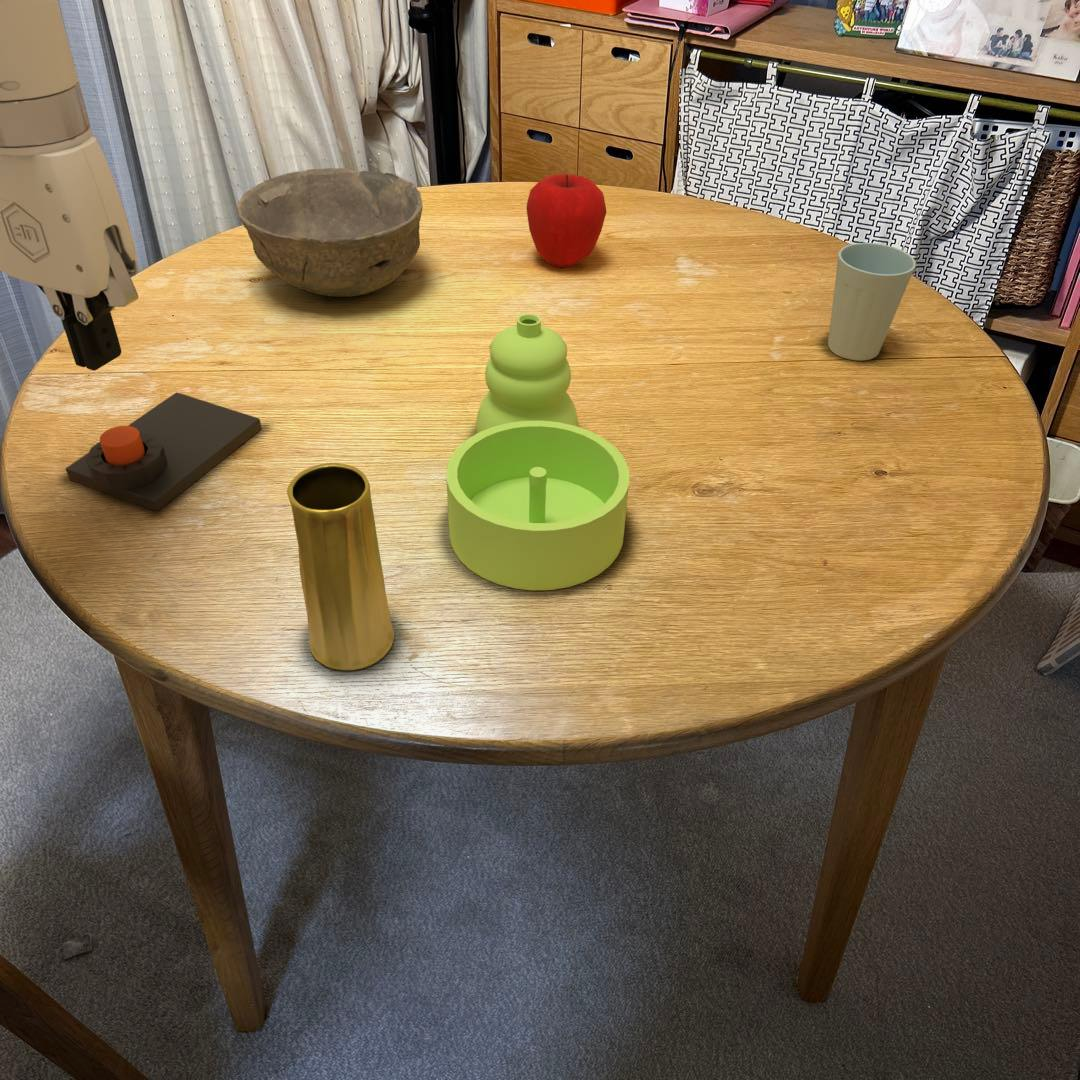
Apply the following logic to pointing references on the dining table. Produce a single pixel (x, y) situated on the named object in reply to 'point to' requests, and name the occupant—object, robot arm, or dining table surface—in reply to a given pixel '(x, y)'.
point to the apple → (565, 218)
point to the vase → (340, 566)
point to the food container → (534, 474)
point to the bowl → (334, 228)
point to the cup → (866, 297)
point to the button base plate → (168, 451)
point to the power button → (122, 445)
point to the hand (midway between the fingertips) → (99, 360)
